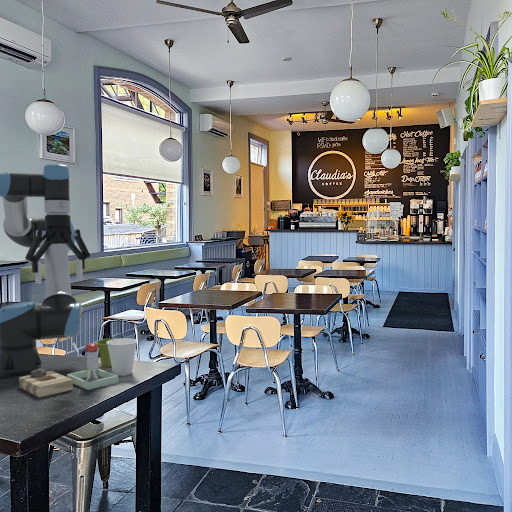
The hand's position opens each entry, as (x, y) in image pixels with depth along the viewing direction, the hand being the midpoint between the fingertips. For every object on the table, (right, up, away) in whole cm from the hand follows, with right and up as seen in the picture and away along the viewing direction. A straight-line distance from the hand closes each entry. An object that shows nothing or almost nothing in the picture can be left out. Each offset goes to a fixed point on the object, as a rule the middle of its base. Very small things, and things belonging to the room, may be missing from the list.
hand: (59, 281), depth 172 cm
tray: (+12, -32, -4) cm, 34 cm away
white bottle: (+12, -31, -4) cm, 34 cm away
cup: (+18, -31, +8) cm, 37 cm away
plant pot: (+11, -31, +20) cm, 38 cm away
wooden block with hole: (0, -32, -10) cm, 34 cm away
